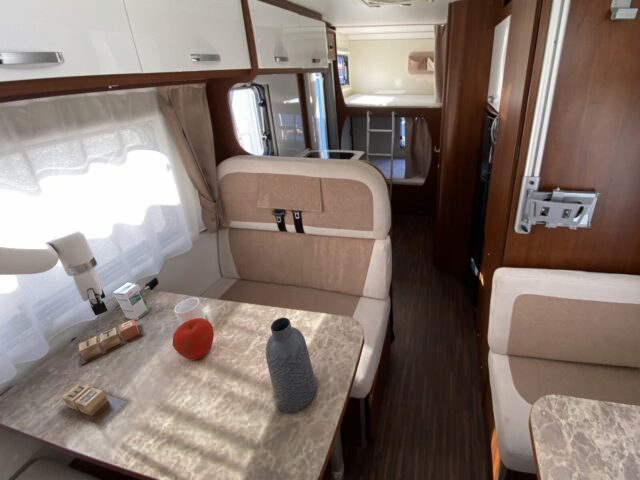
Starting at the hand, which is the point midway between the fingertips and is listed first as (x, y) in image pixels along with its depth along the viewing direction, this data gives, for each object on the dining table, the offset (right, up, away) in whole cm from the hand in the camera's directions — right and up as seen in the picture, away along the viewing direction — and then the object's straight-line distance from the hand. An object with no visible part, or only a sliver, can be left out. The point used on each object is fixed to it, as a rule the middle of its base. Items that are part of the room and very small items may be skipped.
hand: (100, 305), depth 106 cm
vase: (+74, -22, -14) cm, 78 cm away
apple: (+35, -17, +1) cm, 39 cm away
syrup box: (-2, -11, +19) cm, 23 cm away
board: (0, -17, +6) cm, 18 cm away
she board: (+14, -25, -16) cm, 33 cm away
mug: (+24, -12, +14) cm, 30 cm away
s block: (+4, -14, +9) cm, 17 cm away
